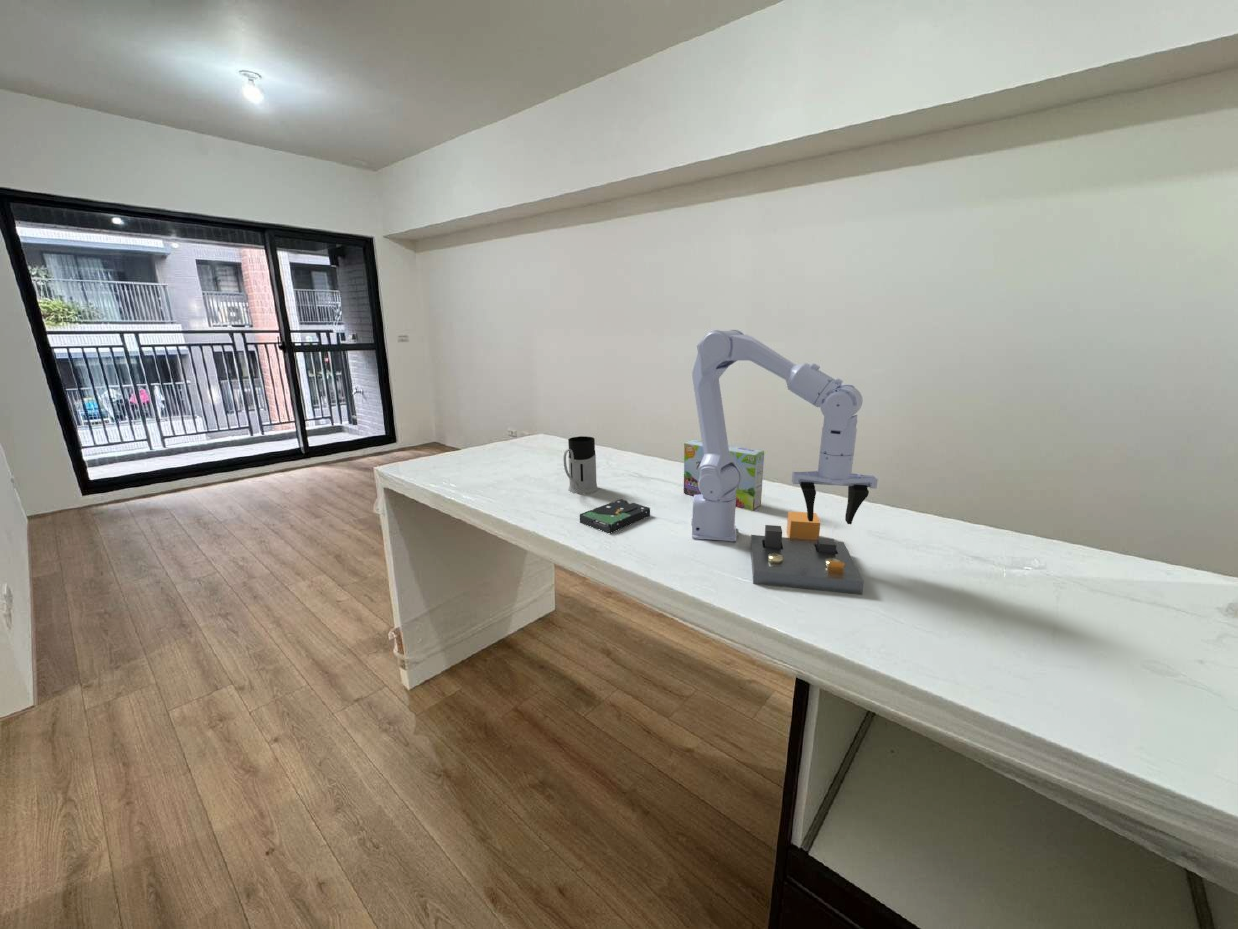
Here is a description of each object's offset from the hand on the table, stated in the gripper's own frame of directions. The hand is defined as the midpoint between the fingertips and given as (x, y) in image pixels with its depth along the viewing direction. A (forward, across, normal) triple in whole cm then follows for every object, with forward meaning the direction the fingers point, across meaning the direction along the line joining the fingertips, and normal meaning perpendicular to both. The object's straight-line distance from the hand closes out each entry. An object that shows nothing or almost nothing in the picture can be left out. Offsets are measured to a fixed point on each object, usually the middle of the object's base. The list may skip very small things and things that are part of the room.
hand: (828, 520), depth 91 cm
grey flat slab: (+8, -5, -4) cm, 11 cm away
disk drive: (+9, -46, +13) cm, 48 cm away
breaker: (+6, -10, 0) cm, 12 cm away
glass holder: (+9, -61, +31) cm, 69 cm away
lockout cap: (+8, -3, +10) cm, 13 cm away
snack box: (+9, -21, +32) cm, 39 cm away
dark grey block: (+8, 0, 0) cm, 8 cm away
